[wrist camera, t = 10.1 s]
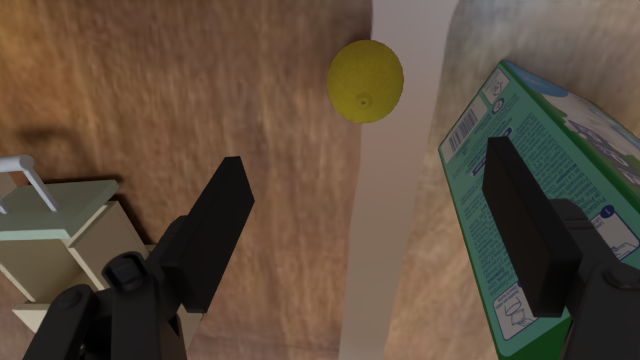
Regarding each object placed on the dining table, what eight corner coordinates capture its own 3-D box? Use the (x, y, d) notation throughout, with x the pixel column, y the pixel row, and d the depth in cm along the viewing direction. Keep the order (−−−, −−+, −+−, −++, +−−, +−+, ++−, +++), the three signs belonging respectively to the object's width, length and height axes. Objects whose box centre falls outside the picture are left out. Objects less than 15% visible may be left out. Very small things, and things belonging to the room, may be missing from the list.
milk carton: (597, 104, 29) (1117, 517, 9) (520, 185, 34) (733, 562, 14) (501, 58, 28) (842, 408, 8) (436, 149, 33) (536, 501, 13)
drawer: (-18, 137, 38) (-98, 181, 31) (85, 127, 35) (21, 172, 29) (81, 266, 49) (37, 318, 42) (164, 265, 46) (131, 319, 40)
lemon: (410, 39, 28) (421, 74, 21) (386, 103, 31) (389, 150, 25) (342, 19, 28) (332, 48, 21) (324, 86, 31) (311, 129, 24)
